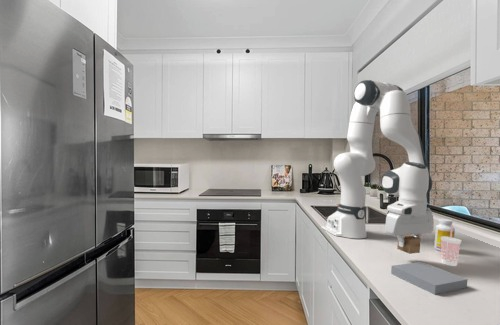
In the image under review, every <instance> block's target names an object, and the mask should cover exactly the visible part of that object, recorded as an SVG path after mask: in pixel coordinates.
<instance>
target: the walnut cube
mask: <svg viewBox="0 0 500 325" xmlns="http://www.w3.org/2000/svg"><path fill="white" fill-rule="evenodd" d="M421 241H422V238H421V239H420V238H417V237H415V235H412V234H411V235H405V238H404V242H406V247H400V246H399V240H398V239H397V245H396V246H397V250H398V251H399V250H400V252H404V253H407V254H410V255H411V254H420V253H421V251H420V250H421Z"/></svg>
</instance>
